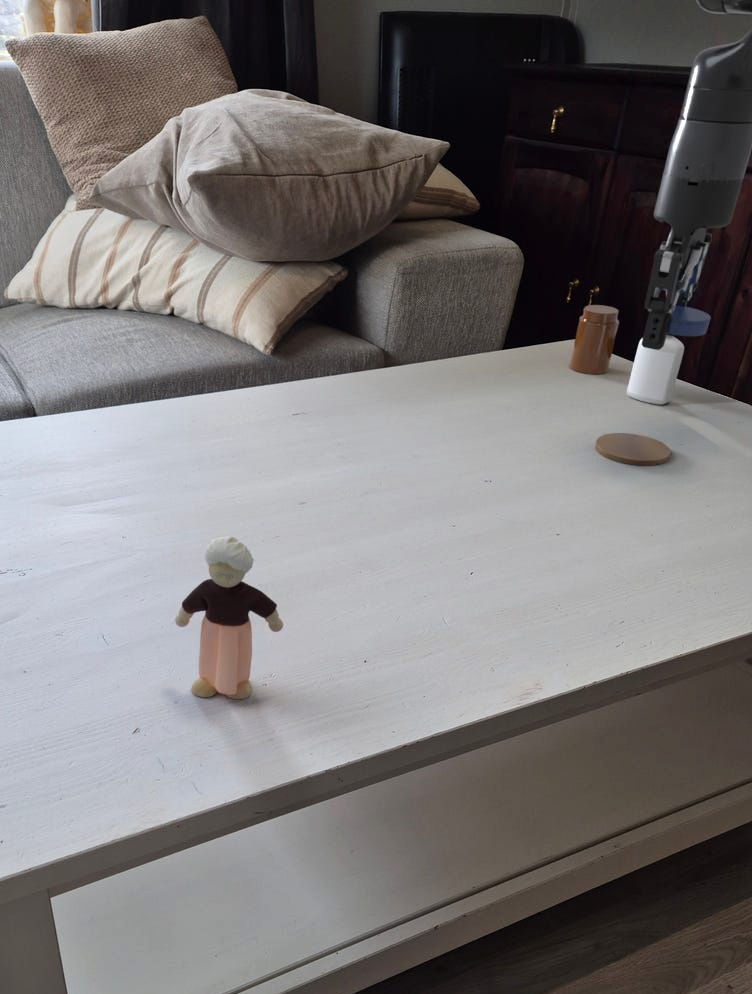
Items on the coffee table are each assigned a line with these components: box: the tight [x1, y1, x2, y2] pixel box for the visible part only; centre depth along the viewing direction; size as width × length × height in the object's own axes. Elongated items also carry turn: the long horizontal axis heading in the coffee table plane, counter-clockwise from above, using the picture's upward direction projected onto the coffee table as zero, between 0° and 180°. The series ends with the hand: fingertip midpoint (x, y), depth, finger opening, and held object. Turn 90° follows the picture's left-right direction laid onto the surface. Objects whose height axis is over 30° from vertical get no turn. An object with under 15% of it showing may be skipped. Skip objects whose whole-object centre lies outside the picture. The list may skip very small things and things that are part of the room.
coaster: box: [594, 432, 671, 466], centre depth 109 cm, size 8×8×1 cm
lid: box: [667, 306, 712, 337], centre depth 99 cm, size 6×6×2 cm
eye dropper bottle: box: [626, 336, 685, 405], centre depth 121 cm, size 4×6×12 cm
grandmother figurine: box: [174, 536, 284, 700], centre depth 65 cm, size 8×4×13 cm, turn 96°
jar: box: [569, 304, 620, 375], centre depth 132 cm, size 5×5×8 cm
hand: (659, 340), depth 101 cm, fingers closed on lid, 5 cm apart
